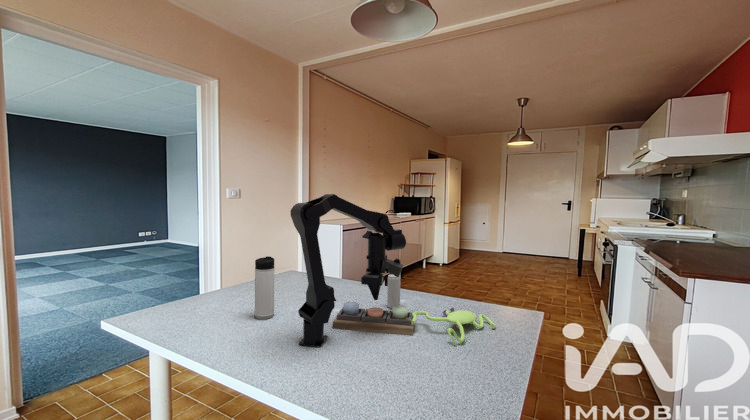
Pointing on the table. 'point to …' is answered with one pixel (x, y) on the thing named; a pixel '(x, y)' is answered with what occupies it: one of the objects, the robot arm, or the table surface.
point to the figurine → (456, 320)
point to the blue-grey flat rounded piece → (351, 308)
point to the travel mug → (264, 288)
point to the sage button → (399, 311)
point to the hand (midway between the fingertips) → (375, 299)
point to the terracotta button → (375, 312)
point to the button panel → (374, 322)
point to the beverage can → (393, 291)
